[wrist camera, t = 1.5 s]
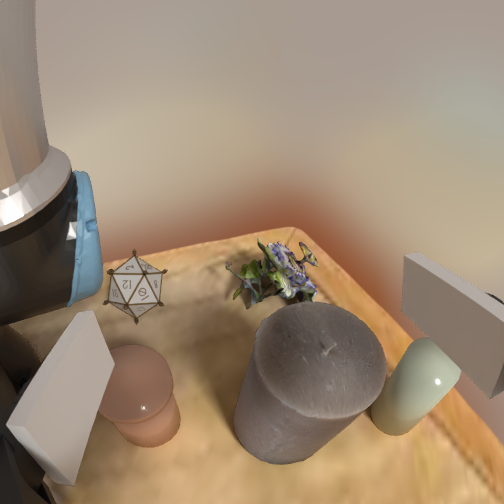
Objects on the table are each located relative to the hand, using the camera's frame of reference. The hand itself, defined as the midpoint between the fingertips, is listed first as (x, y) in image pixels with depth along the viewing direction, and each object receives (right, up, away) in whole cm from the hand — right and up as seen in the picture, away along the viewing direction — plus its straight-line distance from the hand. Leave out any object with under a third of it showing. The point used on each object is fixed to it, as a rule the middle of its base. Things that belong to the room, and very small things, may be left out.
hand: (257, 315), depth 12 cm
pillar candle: (+2, -15, +17) cm, 22 cm away
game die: (-16, -6, +30) cm, 34 cm away
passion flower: (+3, -5, +32) cm, 33 cm away
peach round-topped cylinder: (-11, -15, +17) cm, 25 cm away
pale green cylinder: (+16, -16, +17) cm, 28 cm away
